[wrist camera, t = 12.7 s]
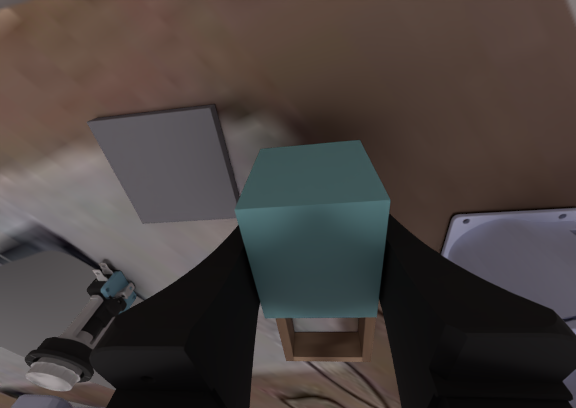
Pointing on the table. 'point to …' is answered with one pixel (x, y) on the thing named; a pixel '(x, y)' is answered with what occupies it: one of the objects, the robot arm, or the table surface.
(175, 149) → the pad
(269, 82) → the table surface
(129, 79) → the table surface
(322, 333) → the channel
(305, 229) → the block
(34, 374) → the push button
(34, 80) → the table surface
